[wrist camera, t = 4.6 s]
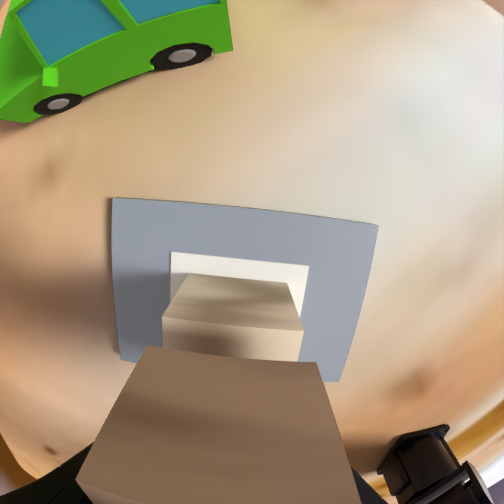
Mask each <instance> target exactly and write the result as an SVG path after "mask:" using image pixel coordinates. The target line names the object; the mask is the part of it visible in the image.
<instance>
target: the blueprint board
mask: <svg viewBox="0 0 504 504" xmlns="http://www.w3.org/2000/svg"><path fill="white" fill-rule="evenodd" d="M377 232H378V225H375V224H370V223H364V222H357V221H350V220H343V219H336V218H329V217H322V216H314V215H307V214H299V213H291V212H283V211H274V210H265V209H256V208H247V207H237V206H227V205H216V204H205V203H193V202H181V201H168V200H153V199H137V198H119V197H117V198H113V199H112V277H113V294H114V307H115V318H116V328H117V336H118V344H119V352H120V358H121V360H125V361H129V362H134V363H138V361H139V359H140V358H141V356H142V354H143V352H144V351H145V349H146V347H147V346H148V345H150V346H156V347H161V348H163V333H162V316H163V314H164V312H165V311H166V309H167V308H168V306H169V304H170V303H171V301H172V300H173V298H174V296H175V295H176V293H177V292H178V290H179V288H180V287H181V285H182V284H183V282H184V280H185V279H186V277H187V276H188V274H189V273H196V274H205V275H214V276H223V277H233V278H242V279H252V280H262V281H273V282H284V283H287V284H288V287H289V290H290V292H291V295H292V298H293V301H294V304H295V306H296V309H297V312H298V315H299V318H300V321H301V324H302V326H303V329H304V334H303V339H302V343H301V348H300V352H299V356H298V361H297V362H316V363H317V366H318V369H319V372H320V375H321V378H322V381H323V382H339V380H340V377H341V374H342V371H343V368H344V365H345V362H346V359H347V356H348V353H349V350H350V346H351V343H352V340H353V336H354V333H355V329H356V326H357V322H358V318H359V315H360V311H361V307H362V303H363V299H364V295H365V291H366V287H367V282H368V278H369V273H370V269H371V264H372V259H373V254H374V249H375V244H376V238H377Z"/></svg>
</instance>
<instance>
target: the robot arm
mask: <svg viewBox="0 0 504 504" xmlns="http://www.w3.org/2000/svg"><path fill="white" fill-rule="evenodd" d="M449 429H450V426H449V425H448V424H447V425H444V426H440V427H437V428H433V429H429V430H425V431H421V432H417V433H413V434H408V435H404V436H402V437H401V438H400V439H399V440H398V442H397V443H396V445H395V446H394V447H393V449H392V450H391V452H390V453H389V455H388V456H387V457H386V459H385V460H384V462H383V463H382V464H381V466H380V467H379V468H378V470H377V474H378V475H381V474H383V476H384V478H385V481H386V483H387V486H388V488H389V491H390V494H391V495H392V496H396V499H397V501H398V504H494V503H493V501H492V498H491V496H490V494H489V492H488V490H487V487H486V485H485V483H484V481H483V479H482V478H481V476H480V475H479V473H478V472H477V470H476V469H475V467H474V466H473V465H472V464H471V463H469V462H468V461H465V462H464V463H463V464H462V465H460V464H459V462H458V461H457V459H456V457H455V456H454V454H453V452H452V451H451V449H450V448H449V446H448V444H447V443H446V441H445V440H444V436H445V435H446V433H447V432H448V431H449ZM93 443H94V442H93ZM93 443H91V444H90V445H89V446H87V447H86V448H85V449H83V450H82V451H80V452H79V453H78V454H76V455H75V456H73V457H72V458H70V459H69V460H67V461H66V462H65V463H63V464H62V465H60V467H57V468H56V469H54V470H53V471H51V472H50V473H48V474H46V475H45V476H43V477H41V478H40V479H38V480H36V481H34V482H32V483H30V484H28V485H25V486H23V487H21V488H19V489H17V490H14V491H11V492H9V493H7V494H4V495H1V496H0V504H93V503H92V501H91V500H90V499H89V497H88V496H87V495H86V494H85V492H84V491H83V490H82V488H81V487H80V485H79V484H78V483H77V481H76V480H75V479H76V477H77V475H78V473H79V471H80V469H81V467H82V465H83V463H84V461H85V459H86V457H87V455H88V453H89V451H90V449H91V447H92V445H93ZM350 467H351V466H350ZM351 470H352V474H353V477H354V480H355V483H356V487H357V490H358V493H359V497H360V500H361V503H362V504H388V503H387V502H386V501H385V500H384V499H382V497H381V496H380V495H379V494H378V493H377V492H376V491H375V490H374V489H373V488H372V487H371V486H370V485H369V484H368V483H367V482H366V481H365V480H364V479H363V478H362V477H361V476H360V475H359V474H358V473H357V472H356V471H355V470H354V469H353V468H352V467H351ZM468 478H470V480H469V481H468V482H466V483H465V482H464V481H465V480H466V479H468Z"/></svg>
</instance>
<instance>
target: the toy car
mask: <svg viewBox="0 0 504 504" xmlns="http://www.w3.org/2000/svg"><path fill="white" fill-rule="evenodd" d="M7 14H8V15H7V16H6V18H5V22H4V26H3V30H2V34H1V38H0V119H2V120H9V121H16V122H22V123H29V122H31V121H33V120H35V119H37V118H39V117H41V116H42V115H43V114H49V115H50V114H55V113H61V112H64V111H66V110H69V109H71V108H73V107H75V106H76V105H78V104H80V102H81V100H82V98H83V96H85V95H88V94H90V93H93V92H95V91H97V90H100V89H102V88H104V87H107V86H109V85H112V84H114V83H117V82H119V81H122V80H125V79H127V78H130V77H133V76H136V75H139V74H142V73H145V72H148V71H151V70H154V65H156V66H158V67H160V68H170V69H175V68H182V67H186V66H190V65H194V64H197V63H200V62H202V61H204V60H205V59H206V58H208V57H209V56H211V53H212V50H213V51H214V54H217V53H222V52H228V51H233V46H232V38H231V30H230V23H229V15H228V8H227V0H11V3H10V6H9V9H8V13H7Z"/></svg>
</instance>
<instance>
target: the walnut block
mask: <svg viewBox="0 0 504 504" xmlns="http://www.w3.org/2000/svg"><path fill="white" fill-rule="evenodd" d="M75 480H76V481H77V483H78V484H79V485H80V487H81V488H82V490H83V491H84V492H85V494H86V495H87V496H88V497H89V499H90V500H91V501H92V503H93V504H362V503H361V500H360V497H359V493H358V490H357V487H356V483H355V480H354V477H353V474H352V470H351V467H350V464H349V461H348V457H347V454H346V451H345V448H344V445H343V442H342V438H341V435H340V432H339V429H338V426H337V423H336V420H335V417H334V414H333V411H332V408H331V405H330V402H329V399H328V396H327V393H326V390H325V387H324V384H323V381H322V378H321V375H320V372H319V369H318V366H317V363H316V362H295V361H275V360H260V359H248V358H237V357H227V356H218V355H209V354H201V353H194V352H187V351H180V350H174V349H167V348H161V347H156V346H150V345H148V346H147V347H146V349H145V351H144V352H143V354H142V356H141V358H140V359H139V361H138V363H137V365H136V366H135V368H134V370H133V372H132V373H131V375H130V377H129V379H128V380H127V382H126V384H125V386H124V388H123V389H122V391H121V393H120V395H119V397H118V398H117V400H116V402H115V404H114V406H113V408H112V409H111V411H110V413H109V415H108V417H107V419H106V421H105V422H104V424H103V426H102V428H101V430H100V432H99V434H98V436H97V438H96V440H95V441H94V443H93V445H92V447H91V449H90V451H89V453H88V455H87V457H86V459H85V461H84V463H83V465H82V467H81V469H80V471H79V473H78V475H77V477H76V479H75Z"/></svg>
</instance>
